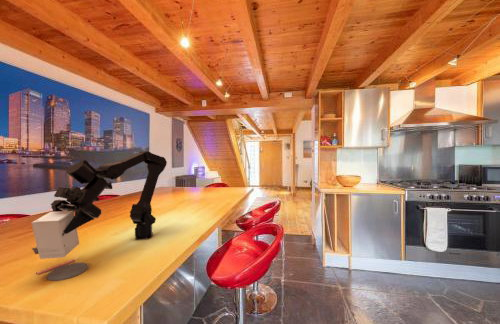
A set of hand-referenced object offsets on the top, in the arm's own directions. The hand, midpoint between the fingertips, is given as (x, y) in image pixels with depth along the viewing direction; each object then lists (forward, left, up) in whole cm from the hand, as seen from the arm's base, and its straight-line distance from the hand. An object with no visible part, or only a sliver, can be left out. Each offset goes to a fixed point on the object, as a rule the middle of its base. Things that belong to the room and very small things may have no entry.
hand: (55, 231), depth 68 cm
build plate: (+17, -24, -14) cm, 33 cm away
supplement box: (-1, -2, -7) cm, 7 cm away
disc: (-4, +1, -13) cm, 14 cm away
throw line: (+2, -4, -13) cm, 14 cm away
